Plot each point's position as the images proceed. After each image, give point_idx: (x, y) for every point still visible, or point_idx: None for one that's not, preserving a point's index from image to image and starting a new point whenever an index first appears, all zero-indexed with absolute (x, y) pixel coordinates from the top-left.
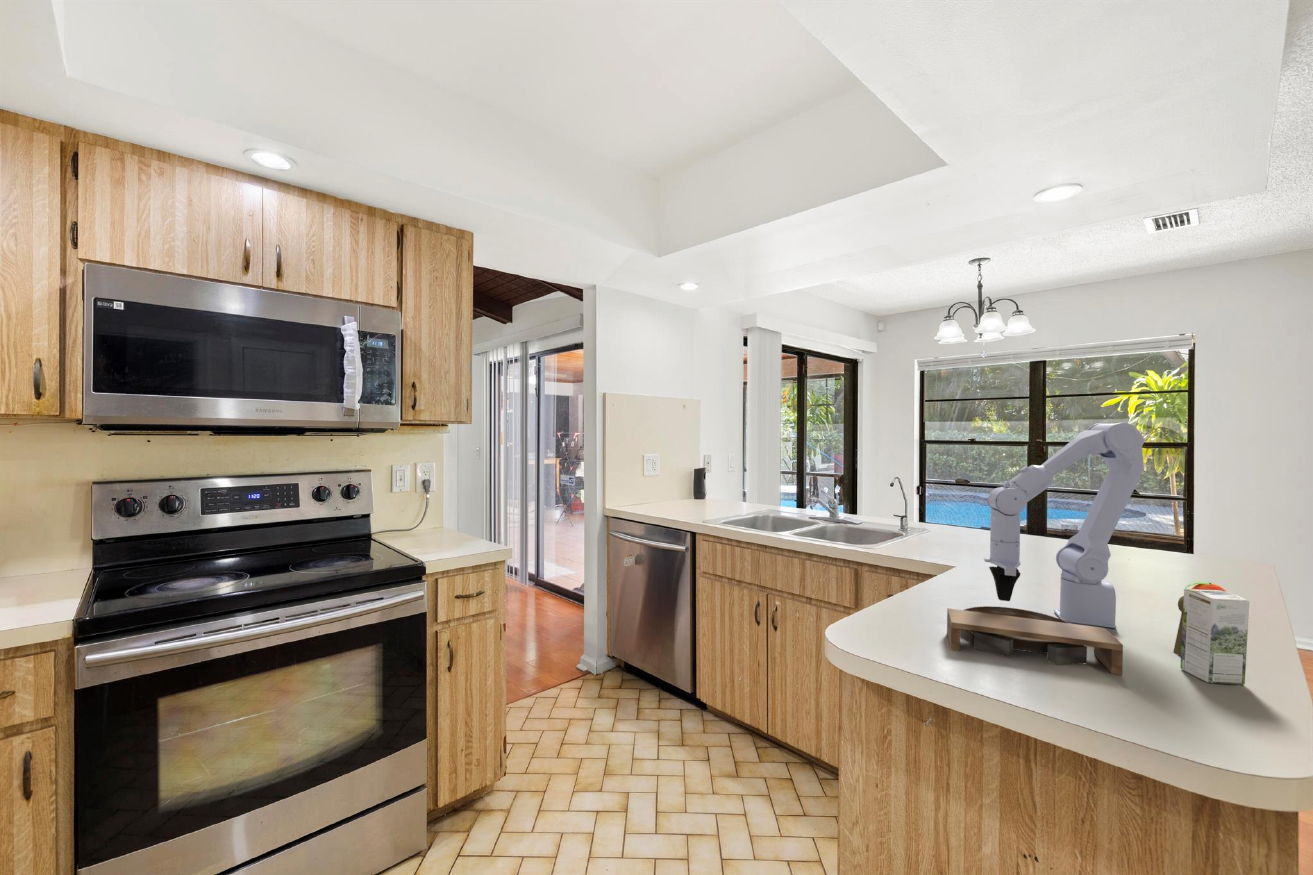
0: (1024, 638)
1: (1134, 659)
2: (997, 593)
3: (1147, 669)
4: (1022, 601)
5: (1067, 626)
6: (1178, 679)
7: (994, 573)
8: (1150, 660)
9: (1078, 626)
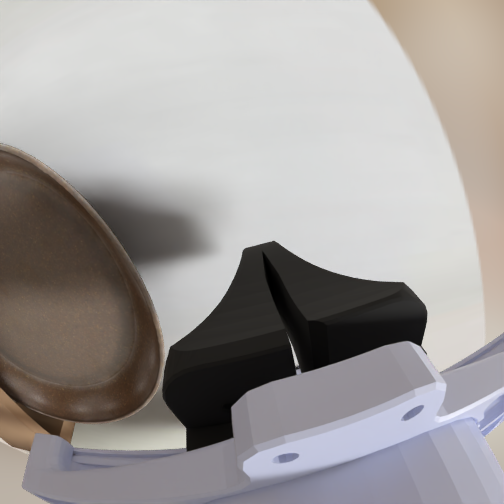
0: (13, 315)
1: (106, 435)
2: (252, 256)
3: (78, 436)
4: (442, 266)
5: (4, 417)
6: (78, 447)
7: (169, 361)
8: (124, 446)
9: (25, 431)
